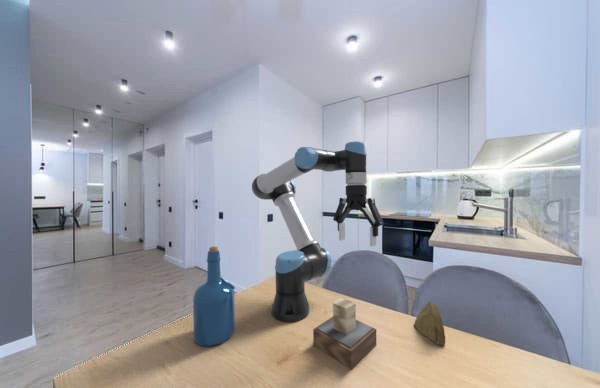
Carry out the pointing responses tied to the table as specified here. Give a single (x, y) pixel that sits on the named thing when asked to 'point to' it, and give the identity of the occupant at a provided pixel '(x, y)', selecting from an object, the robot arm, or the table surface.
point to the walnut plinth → (345, 342)
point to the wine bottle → (213, 305)
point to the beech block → (344, 316)
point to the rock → (431, 324)
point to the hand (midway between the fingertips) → (356, 242)
